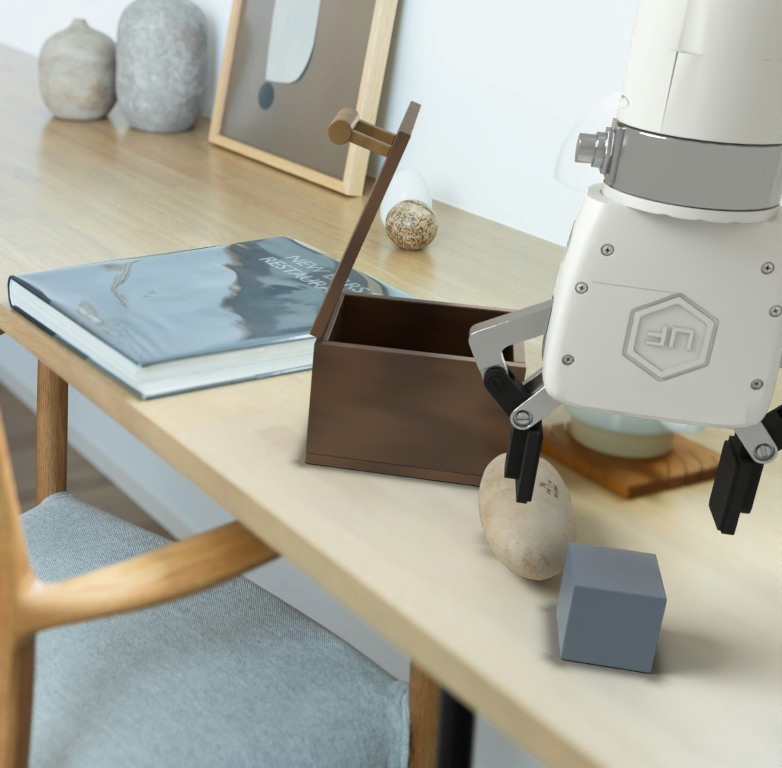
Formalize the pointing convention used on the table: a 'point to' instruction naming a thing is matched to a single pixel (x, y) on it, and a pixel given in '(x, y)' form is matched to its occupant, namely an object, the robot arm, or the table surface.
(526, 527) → the stone
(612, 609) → the block
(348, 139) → the lid
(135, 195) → the table surface
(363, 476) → the table surface
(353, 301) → the keepsake box
